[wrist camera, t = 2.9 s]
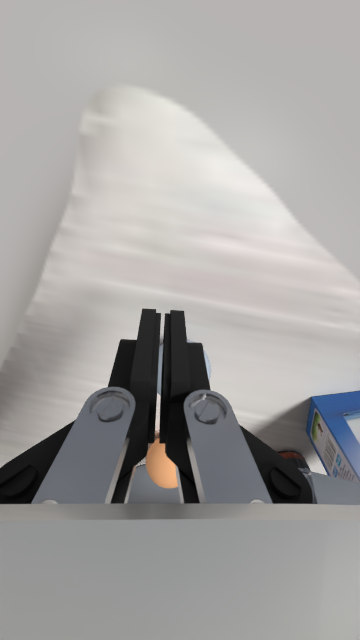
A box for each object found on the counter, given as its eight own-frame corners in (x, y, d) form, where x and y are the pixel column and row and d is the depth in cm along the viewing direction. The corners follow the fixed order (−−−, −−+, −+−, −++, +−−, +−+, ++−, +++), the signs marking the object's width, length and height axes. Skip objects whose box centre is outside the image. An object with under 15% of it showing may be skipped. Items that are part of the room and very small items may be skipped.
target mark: (218, 463, 36) (218, 464, 36) (204, 511, 43) (204, 513, 43) (115, 460, 35) (114, 462, 35) (118, 510, 42) (118, 512, 42)
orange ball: (193, 425, 32) (197, 471, 27) (189, 452, 34) (192, 498, 30) (148, 424, 31) (144, 470, 26) (147, 451, 34) (143, 497, 29)
